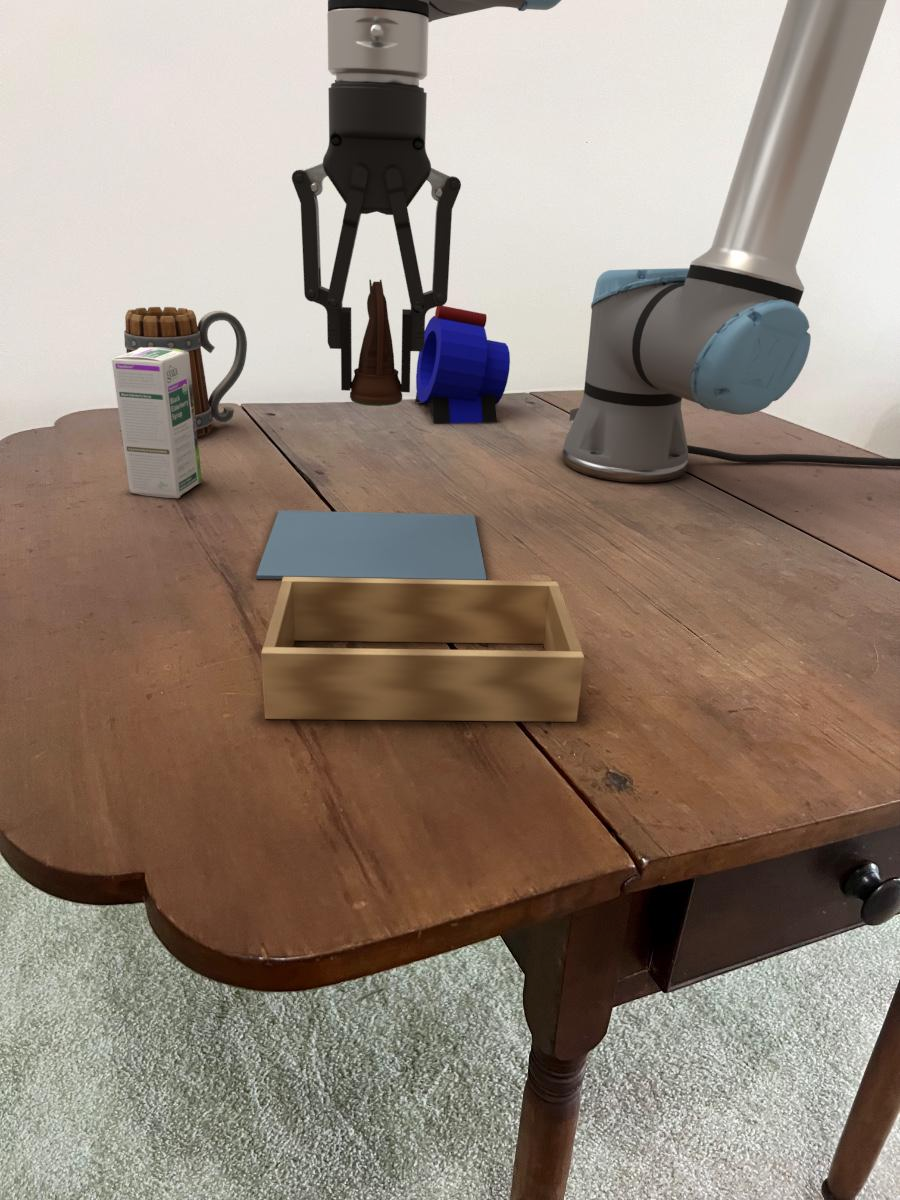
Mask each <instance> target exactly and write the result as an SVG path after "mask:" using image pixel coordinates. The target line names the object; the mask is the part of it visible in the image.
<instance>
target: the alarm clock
mask: <svg viewBox="0 0 900 1200" xmlns="http://www.w3.org/2000/svg"><path fill="white" fill-rule="evenodd" d="M486 324H487V314H486V313H482V312H477V311H472V310H467V309H461V308H458V307H457V308H456V307H451V306H447V305H443V306H437V307H435V313H434V315H433V316H432V317H430V319H429V320H428V323H427V325H426V326H425V338H424V347H423V350H422V351H418V356H417V362H416V373H415V374H416V375H415V389H416V395H415V403H424V404H428V408H429V410H430V414H431V418H432V422H433V424H434V425H436V424H437V425H438V424H439V425H440V424H441V425H442V424H475V423H476V424H478V423H498V416H497V404H499V402H500V401H501V400H502V398H503V395H504V393H505V390H506V388H507V384H508V382H509V381H508V379H509V375H510V365H511V355H510V349H509V345H508V344H507V343H506V342H502V341H496V340H491V339H488V337H487V332H486V328H485V327H486Z"/></svg>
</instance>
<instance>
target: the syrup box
mask: <svg viewBox="0 0 900 1200" xmlns="http://www.w3.org/2000/svg"><path fill="white" fill-rule="evenodd" d="M111 364H112V365H111V366H112V372H113V373H112V374H113V379H114V387H115V394H116V401H117V409H118V416H119V417H118V418H119V425H120V433H121V439H122V444H123V451H124V461H125V467H126V468H125V469H126V474H127V483H128V489H129V492H130V493H131V494H135V495H140V496H147V497H156V498H157V497H158V498H166V499H179V498H181V496H183V495H184V494H185V493H187V492H188V491H190V490H191V489H193V488H194V487H196V486H198V485H200V484H201V483H202V481H203V478H202V477H203V476H202V469H201V460H200V448H199V438H197V428H196V418H195V408H194V398H193V388H192V378H191V368H190V358H189V352H188V351H185V350H179V349H173V348H162V347H148V348H142V347H140V348H138V349H137V350H135V351H132V352H129V353H127V352H126V353H124V354H122V355H117V356H114V357H113V358H111Z"/></svg>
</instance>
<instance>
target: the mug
mask: <svg viewBox="0 0 900 1200" xmlns="http://www.w3.org/2000/svg"><path fill="white" fill-rule="evenodd" d="M124 317H125V318H124V319H125V320H124V321H125V322H124V323H125V330H124V331H123V334H124V348H125V349H126V353H129V352H132V351H135V350H137V349H138V348H140V347H142V348H148V347H162V348H173V349H179V350H185V351H188V352H189V358H190V368H191V378H192V388H193V398H194V408H195V418H196V428H197V438H198V439H201V438H203V437H205V436H206V435H208V434H209V433H210V432H211V430H212V429H213V422H214V420H215V421H216V422H218V423H227V422H230V421H231V420H232V419H233V417H234V414H235V409H234V408H233V407H232V406H223V410H222V411H221V412H220V411H219V406H220V403H221V401H222V399H223V398H224V397H225V396H226V394H227V393H228V392H229V390H230V389H231V388H232V387H233V386H234V385H235V384H236V382H237V381H238V379H239V378H240V377H241V374H242V372H243V370H244V367H245V365H246V358H247V351H248V340H247V334H246V331H245V329H244V326H243V324H242V323H241V322H240V320H239V318H238V319H237V317H236V316H234V315H233V314H231V313H229V312H228V311H225V310H212V311H209V312H207V313H205V314H204V315H203V316H202V317H201V318H200V320H199V321H198V322H197V315H196V314H195V312H194V310H192V309H188V308H185V307H178V308H176V307H175V306H164V307H163V310H162V309H161V306H148V308H146V307H137V308H135V309H133V308H132V309H128V310H127V312H126V314H125V316H124ZM219 321H225V322H227V323H229V325H230V326H231V327H232V329H233V331H234V335H235V342H236V344H235V353H234V359H233V362H232V366H231V367H230V369H229V371H228V373H227V374H226V375H225V376H224V378H223V379H222V380H220V382H219V383H218V384H217V385H216V386H215V388H214V389H213V391H212V392H211V393H210V396H209V393H208V388H207V380H206V373H205V368H204V362H203V361H204V360H203V354H202V349H201V347H202V348H203V349H204V350H205V351H207V352H208V353H209V354H212V353H213V351H214V350H215V349H216V346H214V345H213V344H212V343H211V342H210V340H209V335H208V333H209V328H210V327H211V326H212V325H213V324H214V323H215V322H219Z"/></svg>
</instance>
